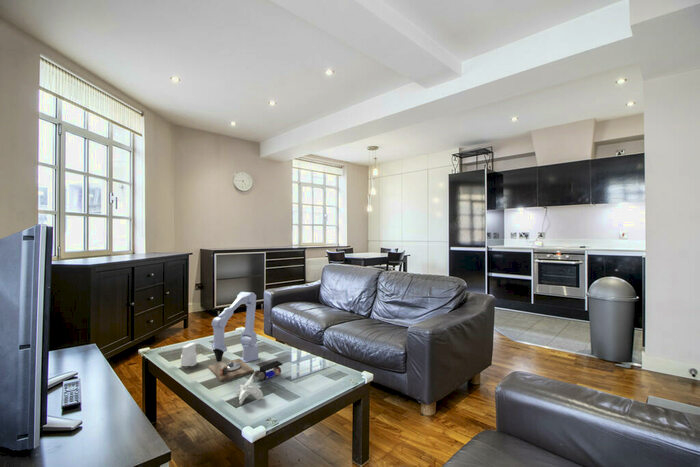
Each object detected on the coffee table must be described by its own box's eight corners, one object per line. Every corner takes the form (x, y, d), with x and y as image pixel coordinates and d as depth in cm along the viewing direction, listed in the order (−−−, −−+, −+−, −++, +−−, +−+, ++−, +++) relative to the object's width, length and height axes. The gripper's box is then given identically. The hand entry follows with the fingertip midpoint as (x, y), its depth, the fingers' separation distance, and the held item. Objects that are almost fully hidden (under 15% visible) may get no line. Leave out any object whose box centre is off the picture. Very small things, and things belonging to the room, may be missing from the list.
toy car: (260, 386, 176) (284, 375, 187) (258, 373, 175) (282, 362, 186) (254, 382, 181) (277, 371, 191) (252, 369, 180) (276, 359, 191)
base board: (239, 360, 209) (239, 353, 209) (253, 372, 191) (253, 363, 191) (208, 368, 196) (208, 360, 197) (220, 381, 179) (220, 372, 179)
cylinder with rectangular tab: (190, 367, 198) (190, 348, 198) (177, 366, 199) (177, 346, 200) (199, 362, 206) (200, 343, 207) (187, 361, 208) (187, 342, 208)
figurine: (240, 414, 159) (259, 411, 153) (225, 401, 155) (244, 397, 149) (253, 387, 170) (271, 383, 164) (240, 375, 166) (258, 370, 160)
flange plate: (227, 363, 200) (227, 358, 200) (243, 364, 198) (243, 359, 198) (212, 373, 185) (212, 368, 185) (230, 375, 183) (230, 370, 183)
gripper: (206, 337, 191) (206, 360, 191) (218, 342, 181) (218, 366, 181) (217, 334, 196) (217, 356, 196) (230, 339, 187) (230, 362, 187)
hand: (219, 361), depth 189 cm, fingers closed
